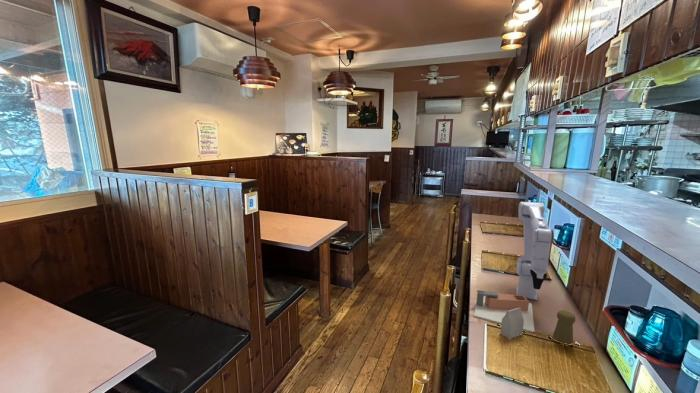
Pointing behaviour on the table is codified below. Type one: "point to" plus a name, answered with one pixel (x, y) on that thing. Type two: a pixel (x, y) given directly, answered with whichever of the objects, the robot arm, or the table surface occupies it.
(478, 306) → the board
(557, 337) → the cork
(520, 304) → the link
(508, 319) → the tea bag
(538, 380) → the table surface
